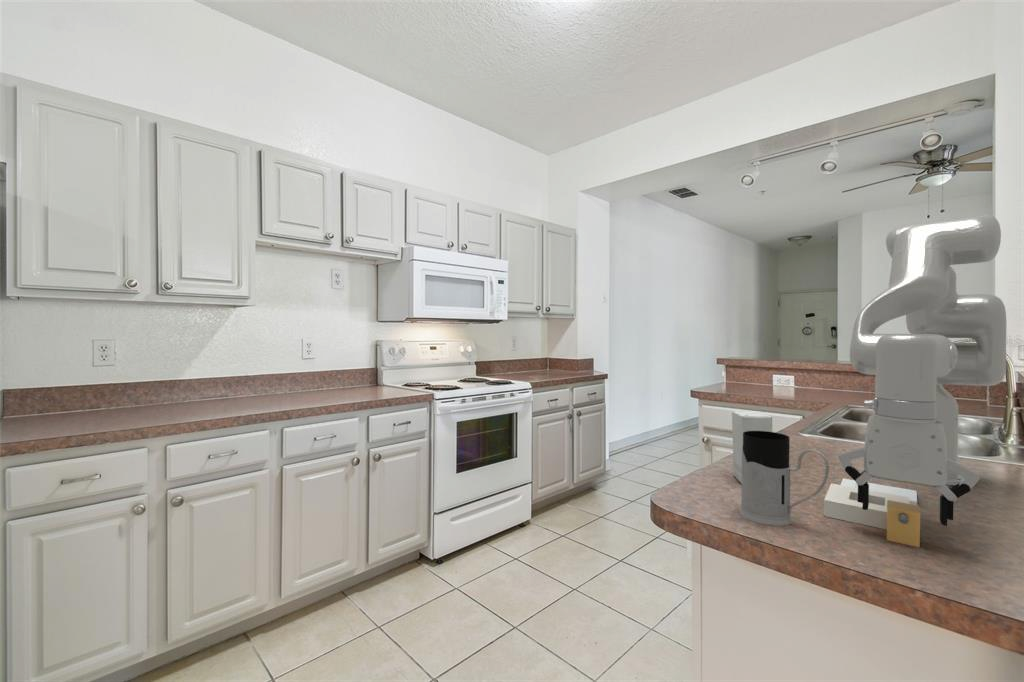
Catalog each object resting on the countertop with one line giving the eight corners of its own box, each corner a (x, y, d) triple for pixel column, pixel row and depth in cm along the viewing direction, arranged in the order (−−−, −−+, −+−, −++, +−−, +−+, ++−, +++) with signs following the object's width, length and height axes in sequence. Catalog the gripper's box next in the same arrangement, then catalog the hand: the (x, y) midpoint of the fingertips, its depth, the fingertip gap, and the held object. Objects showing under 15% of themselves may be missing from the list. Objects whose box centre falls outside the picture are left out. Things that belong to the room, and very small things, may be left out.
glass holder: (750, 503, 90) (750, 428, 90) (835, 526, 79) (836, 441, 79) (730, 514, 84) (731, 434, 84) (819, 541, 73) (820, 449, 73)
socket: (831, 497, 93) (831, 483, 93) (908, 513, 85) (909, 497, 85) (823, 515, 84) (824, 499, 84) (910, 534, 76) (910, 516, 76)
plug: (887, 532, 77) (887, 499, 77) (918, 538, 74) (919, 505, 74) (886, 543, 73) (886, 509, 73) (920, 551, 70) (920, 516, 70)
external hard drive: (917, 509, 88) (839, 494, 97) (916, 497, 95) (843, 484, 103) (917, 501, 88) (839, 486, 97) (916, 489, 95) (843, 477, 103)
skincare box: (774, 488, 98) (774, 417, 98) (741, 486, 100) (741, 416, 99) (760, 476, 107) (761, 410, 106) (730, 474, 108) (731, 409, 108)
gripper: (837, 407, 76) (835, 508, 77) (984, 420, 65) (982, 538, 65) (841, 402, 82) (839, 496, 82) (977, 413, 71) (975, 522, 71)
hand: (902, 514), depth 74 cm, fingers open, 9 cm apart
